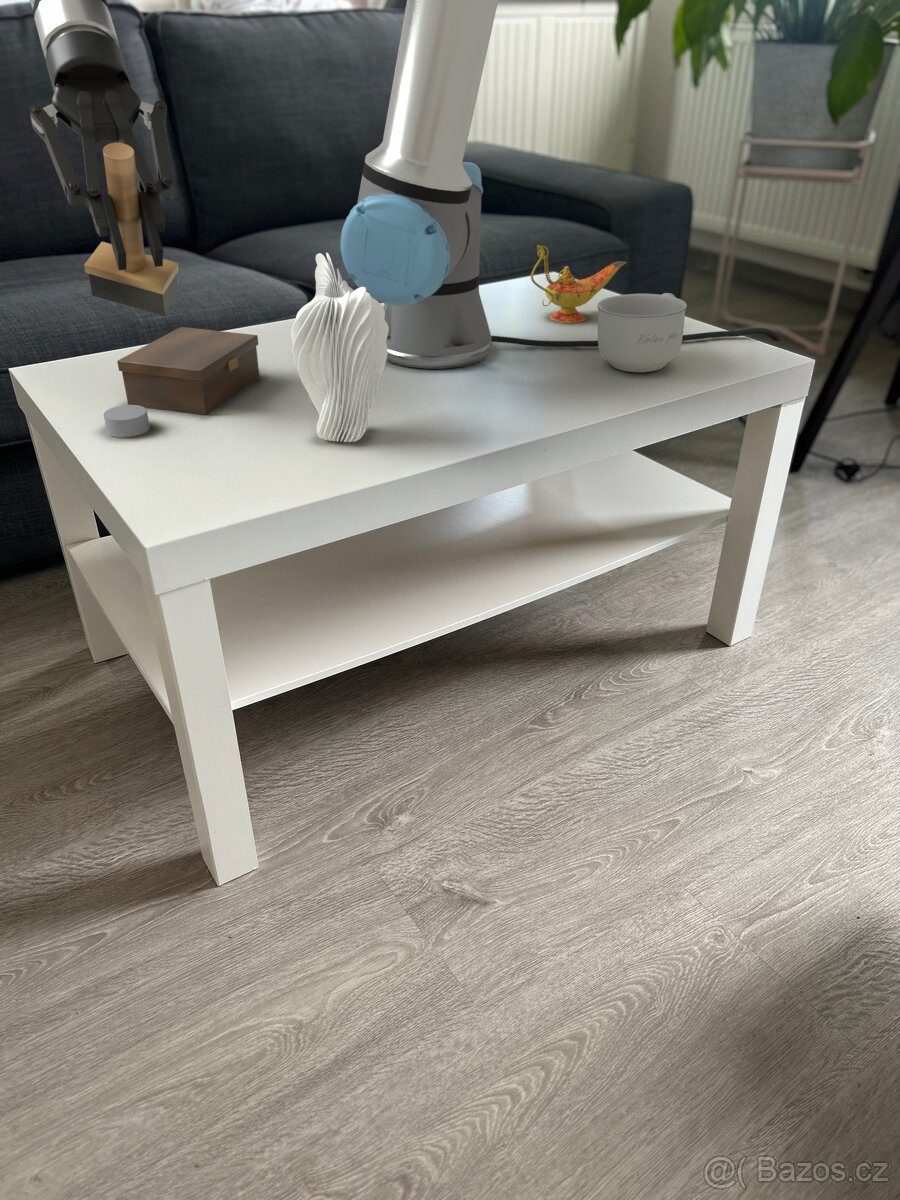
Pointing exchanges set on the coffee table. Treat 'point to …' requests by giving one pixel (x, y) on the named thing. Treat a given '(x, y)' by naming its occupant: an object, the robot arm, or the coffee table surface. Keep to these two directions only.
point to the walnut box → (190, 370)
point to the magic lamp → (572, 289)
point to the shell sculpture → (340, 353)
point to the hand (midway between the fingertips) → (140, 259)
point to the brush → (129, 245)
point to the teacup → (640, 330)
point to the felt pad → (126, 421)
